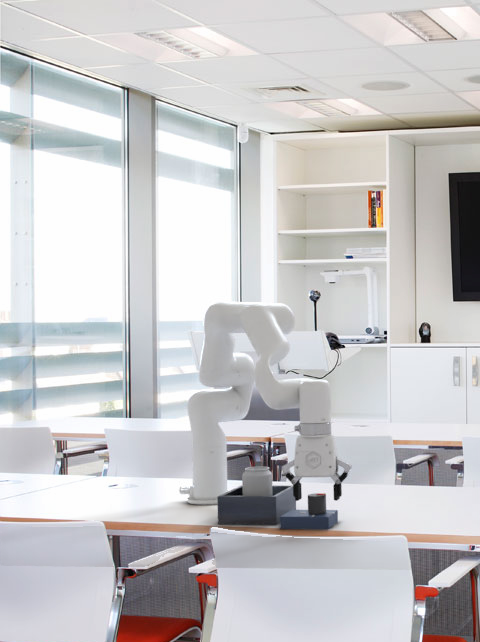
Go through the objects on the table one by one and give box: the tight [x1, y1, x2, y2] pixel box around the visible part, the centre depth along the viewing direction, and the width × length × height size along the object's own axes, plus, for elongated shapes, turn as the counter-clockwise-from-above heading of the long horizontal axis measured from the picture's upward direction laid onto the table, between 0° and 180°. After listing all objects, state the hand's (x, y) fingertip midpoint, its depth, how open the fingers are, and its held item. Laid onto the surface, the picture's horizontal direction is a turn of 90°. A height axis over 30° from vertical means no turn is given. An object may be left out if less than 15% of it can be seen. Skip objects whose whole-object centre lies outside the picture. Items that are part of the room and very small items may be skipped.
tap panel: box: [279, 509, 339, 530], centre depth 244 cm, size 12×9×3 cm
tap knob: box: [307, 492, 327, 515], centre depth 243 cm, size 4×4×5 cm
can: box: [241, 465, 273, 496], centre depth 254 cm, size 8×8×12 cm
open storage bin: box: [217, 485, 297, 526], centre depth 254 cm, size 15×17×7 cm
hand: (317, 499), depth 243 cm, fingers open, 9 cm apart
